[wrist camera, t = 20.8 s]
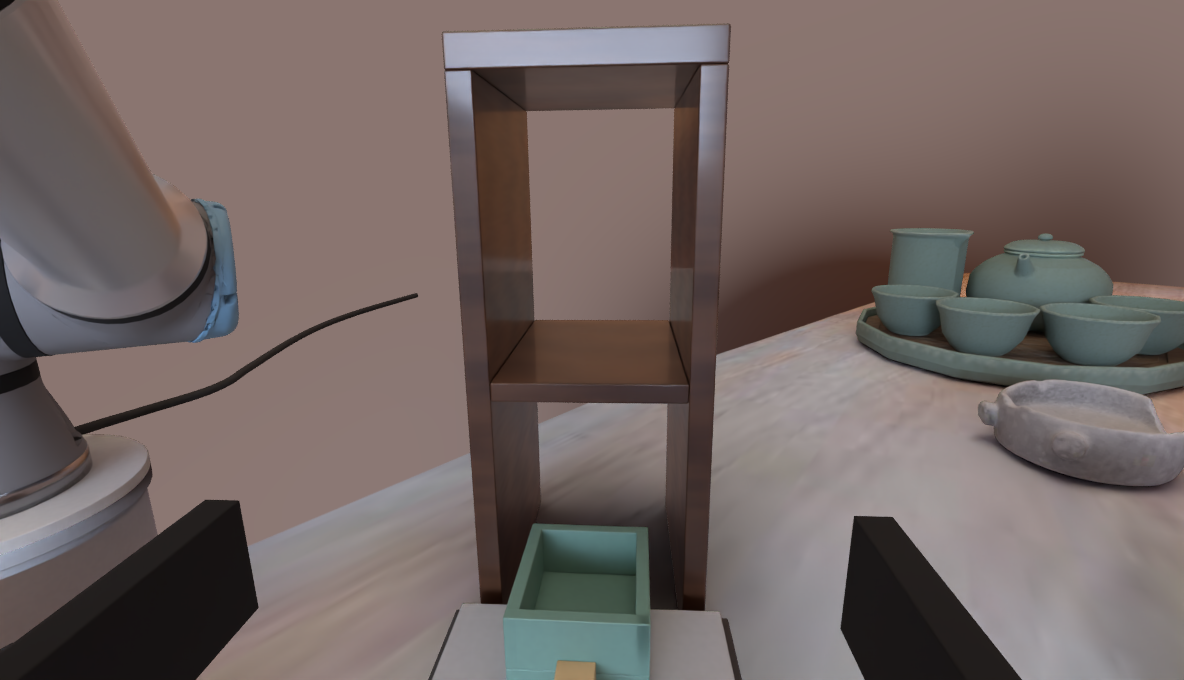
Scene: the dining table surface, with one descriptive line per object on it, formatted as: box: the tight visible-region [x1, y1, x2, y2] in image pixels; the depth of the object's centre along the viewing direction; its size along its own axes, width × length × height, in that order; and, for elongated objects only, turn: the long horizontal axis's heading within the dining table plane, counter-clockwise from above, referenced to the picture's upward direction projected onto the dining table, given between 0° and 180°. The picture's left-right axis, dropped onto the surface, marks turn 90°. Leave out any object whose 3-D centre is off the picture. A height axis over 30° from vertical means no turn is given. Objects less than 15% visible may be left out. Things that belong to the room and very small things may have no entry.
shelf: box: [442, 24, 731, 611], centre depth 35 cm, size 14×12×30 cm
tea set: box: [856, 228, 1184, 394], centre depth 82 cm, size 40×40×16 cm
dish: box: [978, 379, 1184, 486], centre depth 52 cm, size 14×14×5 cm
